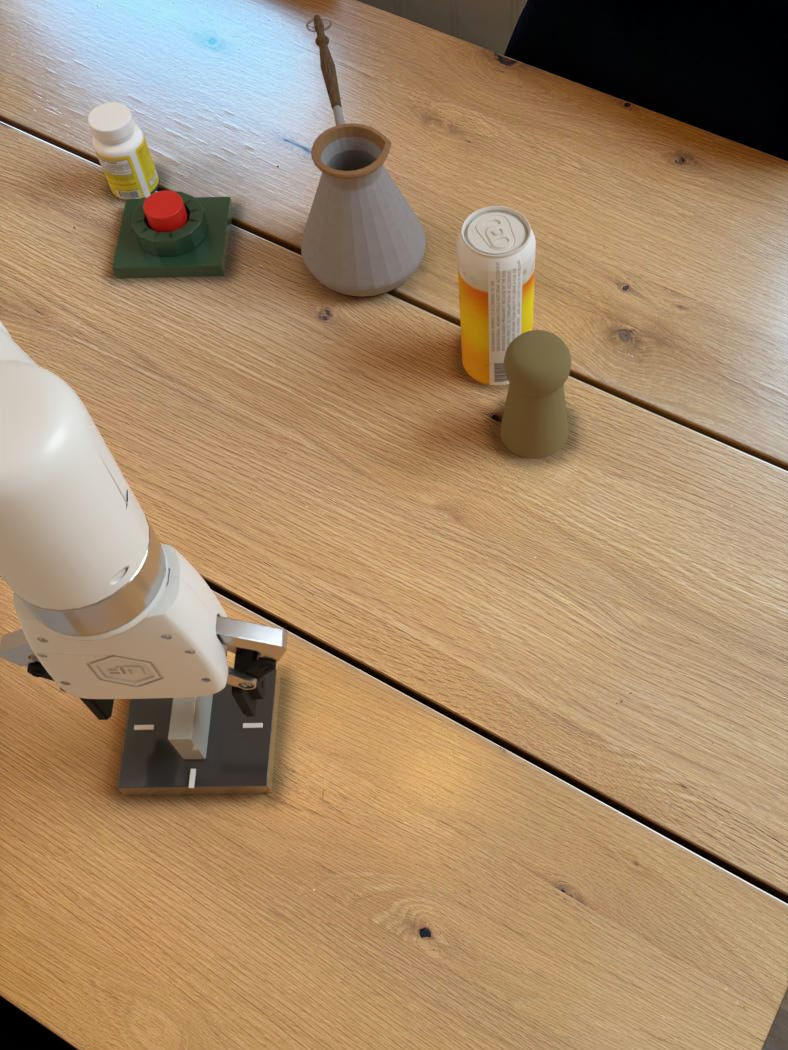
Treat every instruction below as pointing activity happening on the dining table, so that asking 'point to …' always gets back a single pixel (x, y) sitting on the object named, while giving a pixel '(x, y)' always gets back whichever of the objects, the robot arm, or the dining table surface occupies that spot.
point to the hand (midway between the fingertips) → (180, 697)
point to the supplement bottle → (122, 152)
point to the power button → (165, 211)
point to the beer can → (494, 288)
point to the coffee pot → (357, 205)
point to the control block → (175, 241)
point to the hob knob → (190, 726)
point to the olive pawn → (536, 395)
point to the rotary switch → (232, 749)
